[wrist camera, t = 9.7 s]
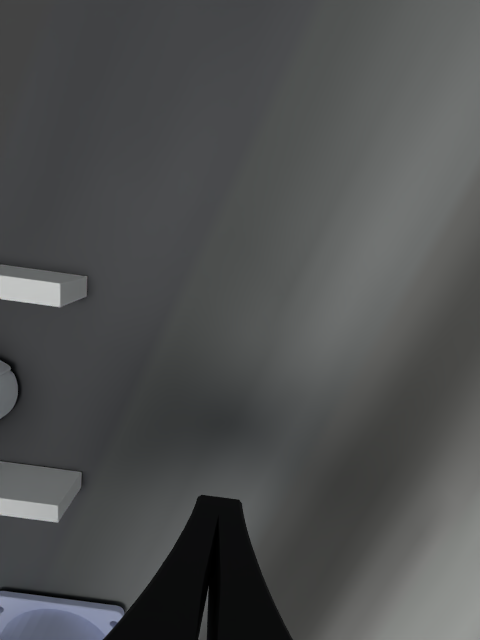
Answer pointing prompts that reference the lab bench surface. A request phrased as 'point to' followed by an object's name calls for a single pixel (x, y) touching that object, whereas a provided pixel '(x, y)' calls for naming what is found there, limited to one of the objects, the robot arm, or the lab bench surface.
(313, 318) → the lab bench surface
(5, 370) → the photo printer
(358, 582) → the lab bench surface
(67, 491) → the display stand
